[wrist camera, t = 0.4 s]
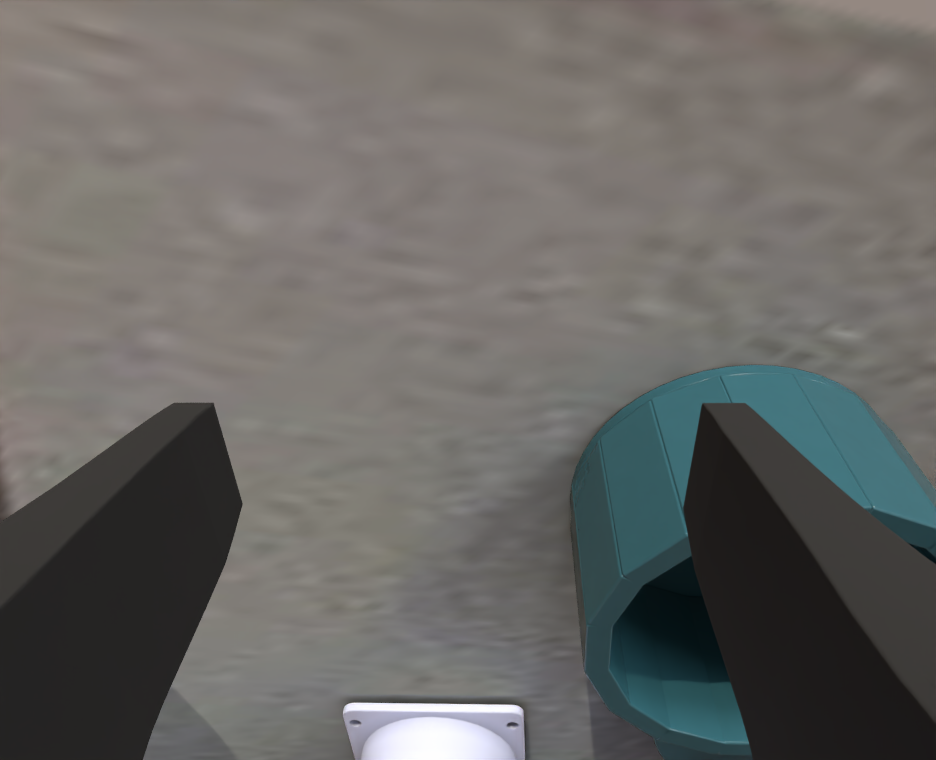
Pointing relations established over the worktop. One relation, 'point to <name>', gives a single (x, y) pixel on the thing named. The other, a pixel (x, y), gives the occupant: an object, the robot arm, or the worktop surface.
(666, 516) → the pot
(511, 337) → the worktop surface
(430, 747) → the robot arm
